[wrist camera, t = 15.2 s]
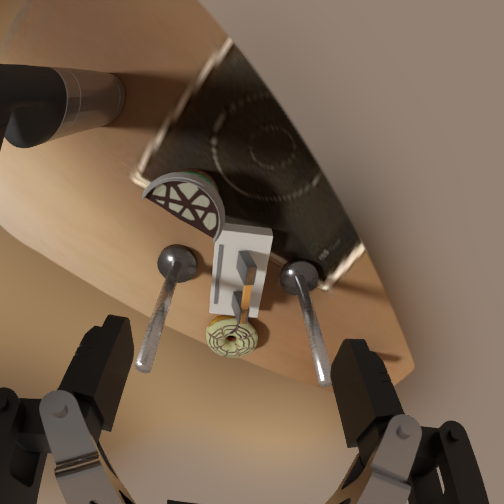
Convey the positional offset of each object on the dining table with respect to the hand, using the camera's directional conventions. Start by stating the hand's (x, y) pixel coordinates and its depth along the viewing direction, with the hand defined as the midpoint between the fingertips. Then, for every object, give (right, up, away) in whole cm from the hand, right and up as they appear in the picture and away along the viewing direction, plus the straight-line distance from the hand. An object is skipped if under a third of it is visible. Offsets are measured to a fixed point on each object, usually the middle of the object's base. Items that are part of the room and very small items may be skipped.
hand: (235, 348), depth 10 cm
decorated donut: (-4, -13, +51) cm, 52 cm away
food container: (-8, +15, +35) cm, 39 cm away
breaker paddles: (-2, -1, +40) cm, 40 cm away
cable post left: (-13, +2, +42) cm, 44 cm away
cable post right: (+9, -1, +44) cm, 45 cm away
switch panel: (-2, 0, +43) cm, 43 cm away
